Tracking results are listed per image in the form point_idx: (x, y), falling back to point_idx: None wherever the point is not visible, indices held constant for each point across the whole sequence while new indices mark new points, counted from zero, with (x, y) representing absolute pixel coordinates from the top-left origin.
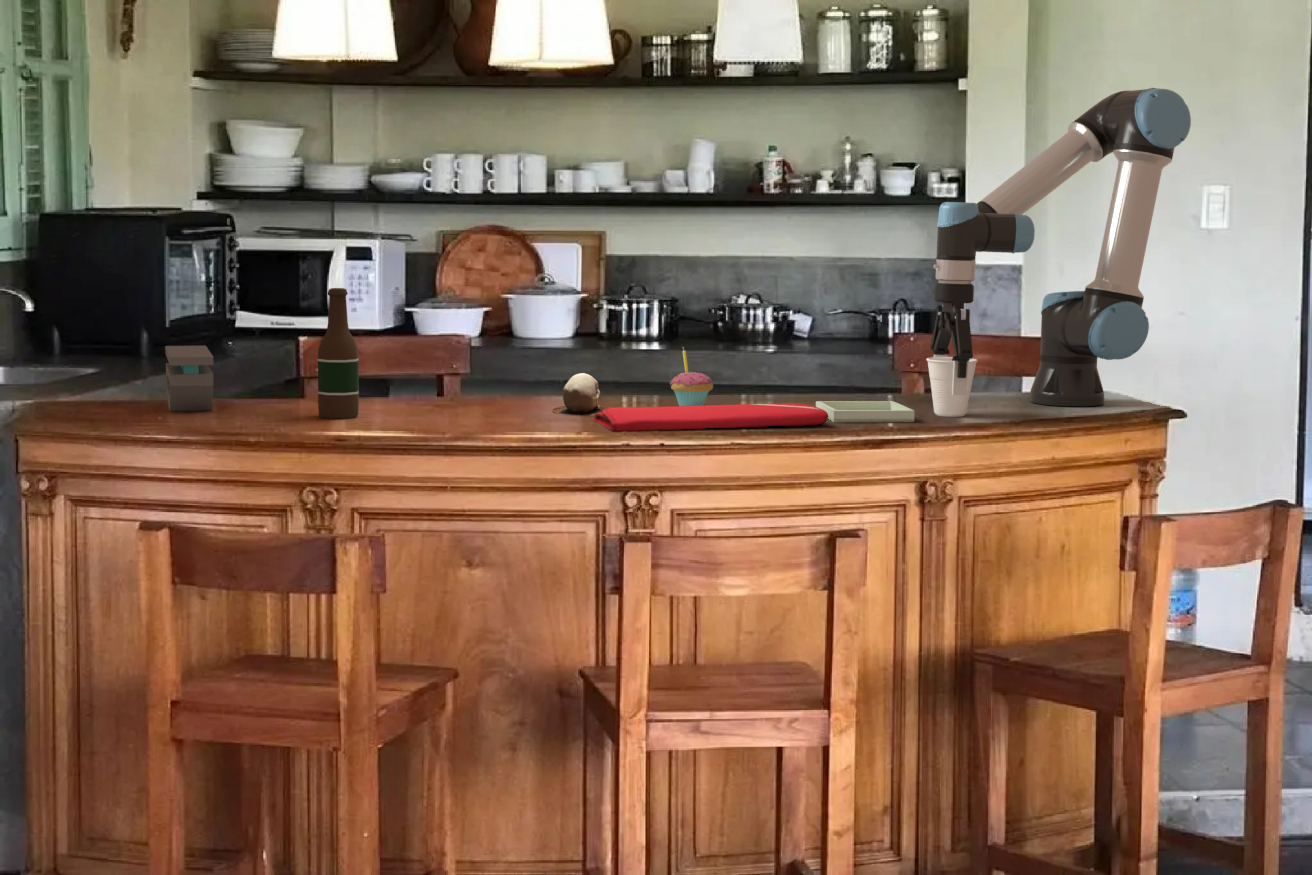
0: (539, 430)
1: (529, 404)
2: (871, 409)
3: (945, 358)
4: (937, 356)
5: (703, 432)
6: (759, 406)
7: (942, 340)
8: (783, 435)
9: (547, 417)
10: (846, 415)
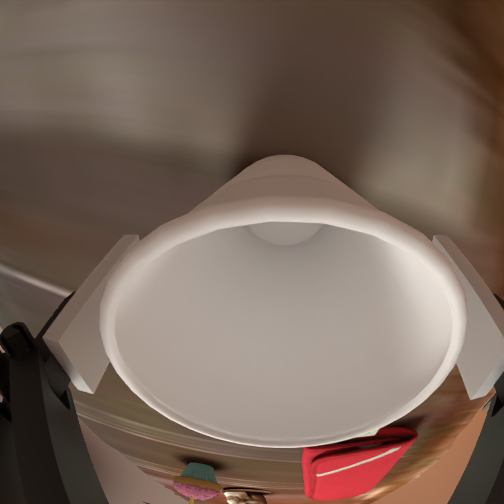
0: None
1: None
2: None
3: (124, 361)
4: (89, 377)
5: (398, 467)
6: (345, 473)
7: (83, 468)
8: (448, 437)
9: (282, 498)
10: None
